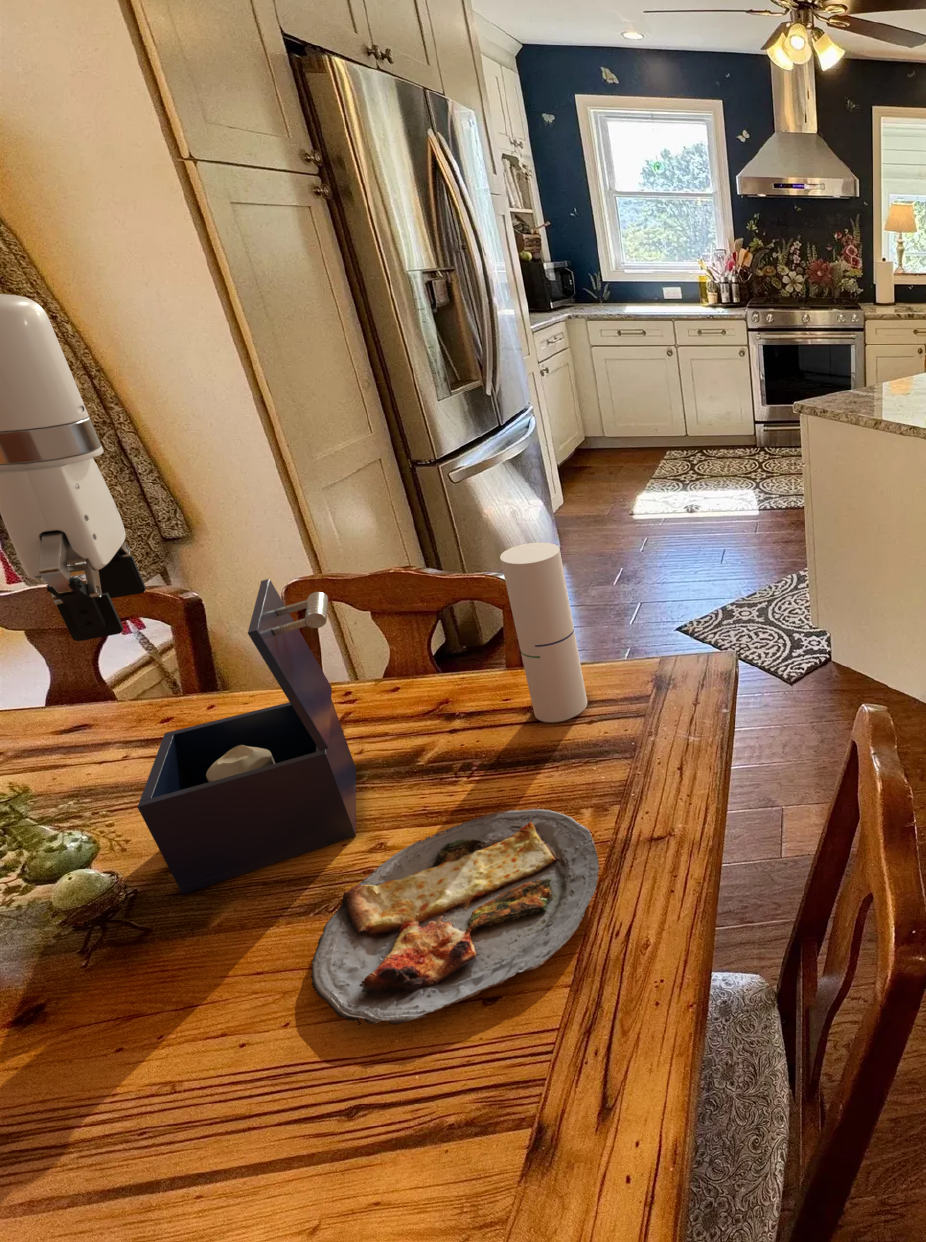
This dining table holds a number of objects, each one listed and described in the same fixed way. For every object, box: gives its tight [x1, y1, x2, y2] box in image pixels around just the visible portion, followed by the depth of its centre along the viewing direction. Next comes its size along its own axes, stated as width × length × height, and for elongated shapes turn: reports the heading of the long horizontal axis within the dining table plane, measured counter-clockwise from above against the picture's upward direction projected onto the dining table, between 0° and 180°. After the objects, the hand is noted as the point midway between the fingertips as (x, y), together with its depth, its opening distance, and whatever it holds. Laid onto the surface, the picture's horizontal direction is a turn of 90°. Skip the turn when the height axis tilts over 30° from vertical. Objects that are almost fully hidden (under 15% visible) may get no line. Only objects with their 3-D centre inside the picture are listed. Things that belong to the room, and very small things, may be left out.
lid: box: [247, 578, 333, 751], centre depth 82 cm, size 16×14×5 cm
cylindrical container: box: [499, 541, 588, 723], centre depth 103 cm, size 7×7×25 cm
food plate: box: [310, 808, 601, 1026], centre depth 75 cm, size 25×23×4 cm
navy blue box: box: [137, 698, 357, 895], centre depth 83 cm, size 15×14×12 cm
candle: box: [206, 745, 275, 782], centre depth 83 cm, size 6×6×10 cm
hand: (113, 614), depth 71 cm, fingers open, 9 cm apart
